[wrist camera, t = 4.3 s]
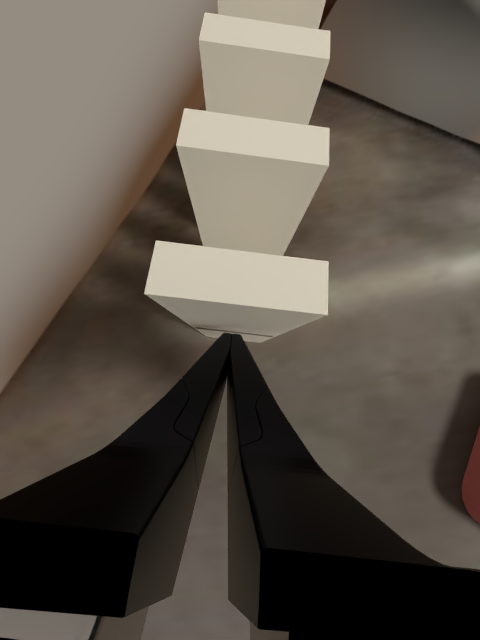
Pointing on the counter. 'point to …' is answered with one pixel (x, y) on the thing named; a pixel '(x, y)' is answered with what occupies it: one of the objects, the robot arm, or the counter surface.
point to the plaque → (473, 482)
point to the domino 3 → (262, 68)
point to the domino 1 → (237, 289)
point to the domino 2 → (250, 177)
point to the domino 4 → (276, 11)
